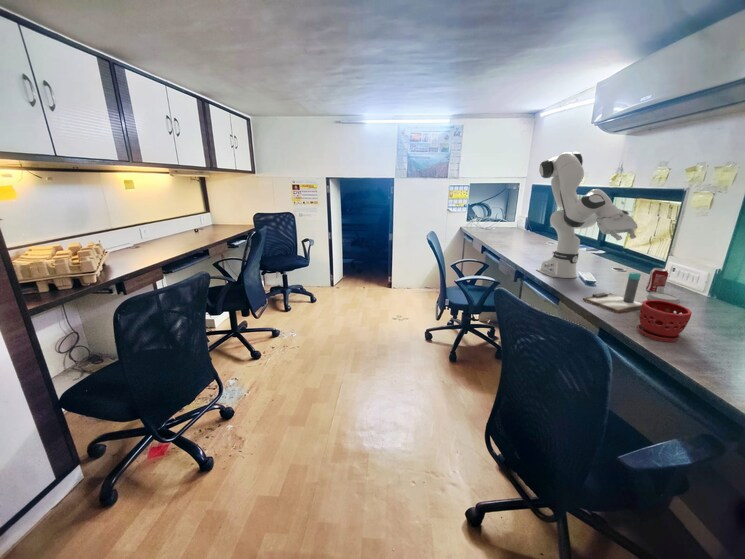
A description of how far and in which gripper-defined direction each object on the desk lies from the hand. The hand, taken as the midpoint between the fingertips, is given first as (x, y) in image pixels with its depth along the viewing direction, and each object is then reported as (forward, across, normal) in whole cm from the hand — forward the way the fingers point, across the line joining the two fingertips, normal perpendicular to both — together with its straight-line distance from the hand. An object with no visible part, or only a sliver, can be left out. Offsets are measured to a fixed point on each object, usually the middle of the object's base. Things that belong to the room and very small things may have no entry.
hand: (627, 238), depth 148 cm
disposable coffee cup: (+41, -20, 0) cm, 45 cm away
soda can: (+22, +23, +18) cm, 37 cm away
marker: (+27, -8, +11) cm, 30 cm away
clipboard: (+26, -14, +14) cm, 32 cm away
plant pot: (+46, -30, -5) cm, 55 cm away
